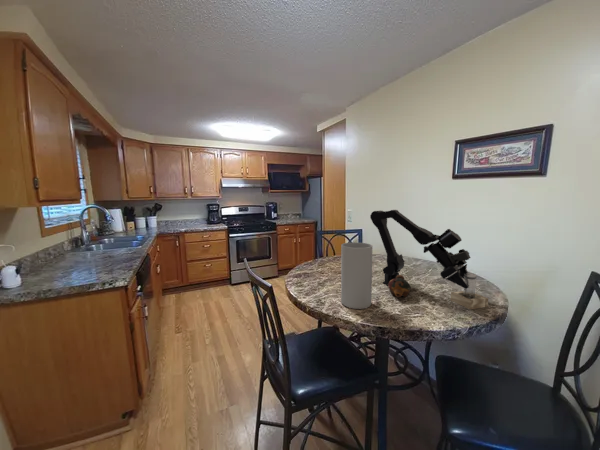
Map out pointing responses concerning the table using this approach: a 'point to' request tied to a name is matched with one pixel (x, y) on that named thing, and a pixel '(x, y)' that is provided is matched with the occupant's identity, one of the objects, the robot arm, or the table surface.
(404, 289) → the decorative turtle
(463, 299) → the socket block
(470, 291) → the silver metal cylinder
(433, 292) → the table surface
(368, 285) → the cylinder vase
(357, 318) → the table surface
